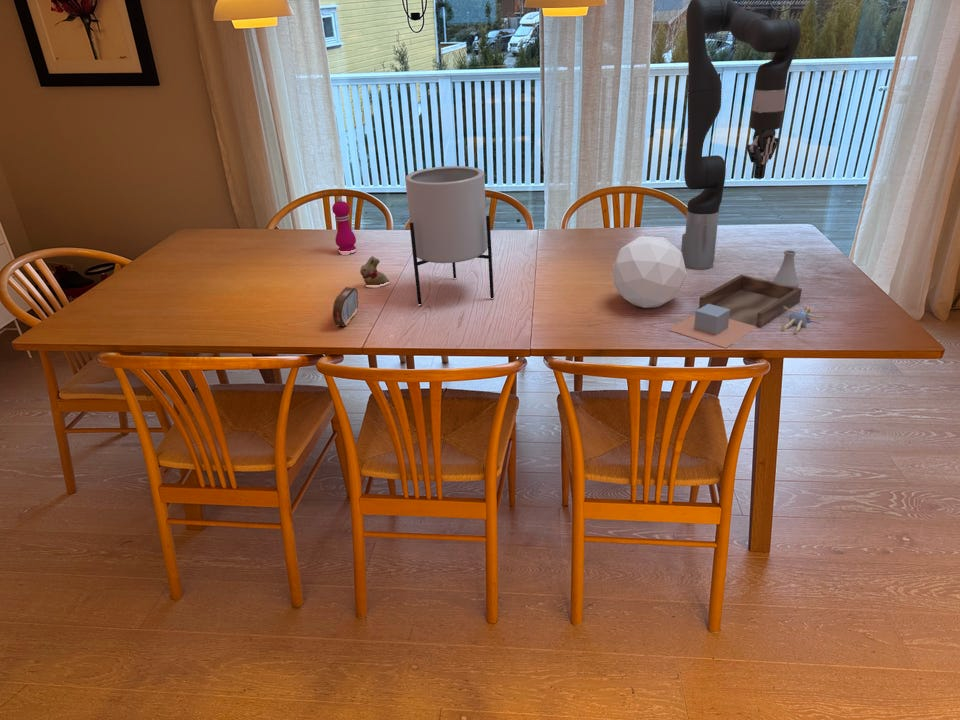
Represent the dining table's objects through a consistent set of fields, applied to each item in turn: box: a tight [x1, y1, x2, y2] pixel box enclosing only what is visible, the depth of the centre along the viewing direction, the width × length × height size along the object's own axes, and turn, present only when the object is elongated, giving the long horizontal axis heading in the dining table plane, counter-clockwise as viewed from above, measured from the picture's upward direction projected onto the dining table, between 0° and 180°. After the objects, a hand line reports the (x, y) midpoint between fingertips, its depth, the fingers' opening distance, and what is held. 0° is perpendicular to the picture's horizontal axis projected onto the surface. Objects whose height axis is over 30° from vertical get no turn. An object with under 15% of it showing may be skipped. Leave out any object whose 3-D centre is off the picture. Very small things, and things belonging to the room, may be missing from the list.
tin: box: [332, 286, 359, 326], centre depth 192 cm, size 15×3×8 cm, turn 171°
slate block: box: [694, 304, 730, 335], centre depth 174 cm, size 6×6×5 cm
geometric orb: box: [612, 235, 688, 309], centre depth 187 cm, size 19×20×20 cm
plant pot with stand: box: [404, 165, 495, 305], centre depth 198 cm, size 24×24×36 cm
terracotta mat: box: [668, 314, 758, 349], centre depth 175 cm, size 16×16×1 cm
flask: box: [772, 249, 800, 288], centre depth 196 cm, size 7×7×10 cm
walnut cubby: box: [698, 274, 803, 328], centre depth 185 cm, size 17×22×4 cm
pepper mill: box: [332, 196, 357, 251], centre depth 244 cm, size 7×7×20 cm
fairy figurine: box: [780, 306, 829, 335], centre depth 174 cm, size 12×5×12 cm
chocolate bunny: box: [359, 255, 390, 285], centre depth 215 cm, size 6×8×10 cm
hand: (758, 178), depth 181 cm, fingers closed
